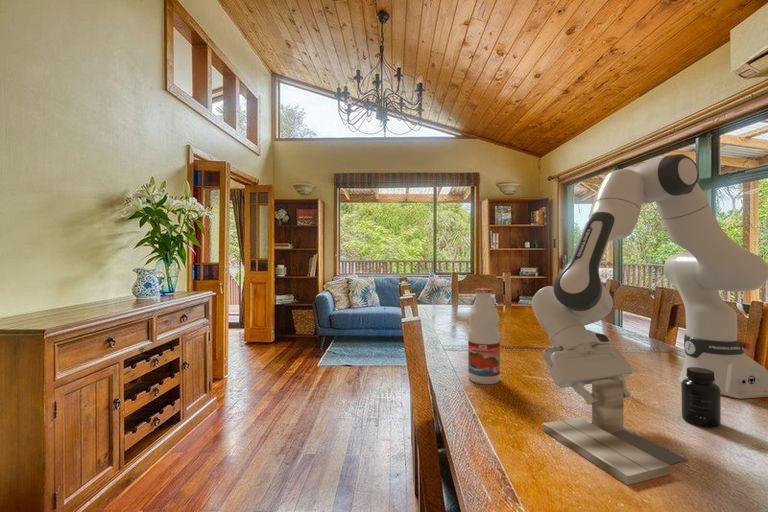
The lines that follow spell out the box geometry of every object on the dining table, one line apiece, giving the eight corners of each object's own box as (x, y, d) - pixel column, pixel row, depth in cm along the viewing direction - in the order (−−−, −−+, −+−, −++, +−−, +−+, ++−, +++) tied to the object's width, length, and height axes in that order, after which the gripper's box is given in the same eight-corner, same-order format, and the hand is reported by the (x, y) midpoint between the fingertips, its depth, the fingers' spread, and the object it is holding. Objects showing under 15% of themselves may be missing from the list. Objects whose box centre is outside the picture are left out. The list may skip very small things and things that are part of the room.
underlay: (584, 425, 83) (583, 424, 83) (607, 420, 85) (607, 420, 85) (660, 467, 66) (660, 466, 66) (688, 460, 69) (688, 459, 69)
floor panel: (542, 430, 81) (542, 423, 81) (578, 423, 84) (578, 416, 84) (627, 485, 61) (627, 475, 61) (670, 474, 64) (670, 465, 64)
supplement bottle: (681, 412, 89) (681, 363, 89) (719, 421, 84) (719, 369, 84) (681, 423, 83) (681, 370, 83) (721, 432, 79) (722, 377, 79)
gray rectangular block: (592, 426, 82) (592, 381, 82) (609, 422, 83) (609, 379, 83) (605, 433, 79) (605, 387, 78) (623, 429, 80) (623, 384, 80)
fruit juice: (501, 376, 115) (501, 287, 115) (497, 386, 107) (497, 290, 106) (471, 372, 119) (471, 286, 119) (465, 382, 110) (465, 289, 110)
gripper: (546, 341, 84) (580, 400, 75) (614, 335, 90) (653, 388, 81) (532, 355, 89) (564, 413, 79) (598, 348, 95) (634, 400, 85)
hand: (610, 400), depth 80 cm, fingers open, 8 cm apart
